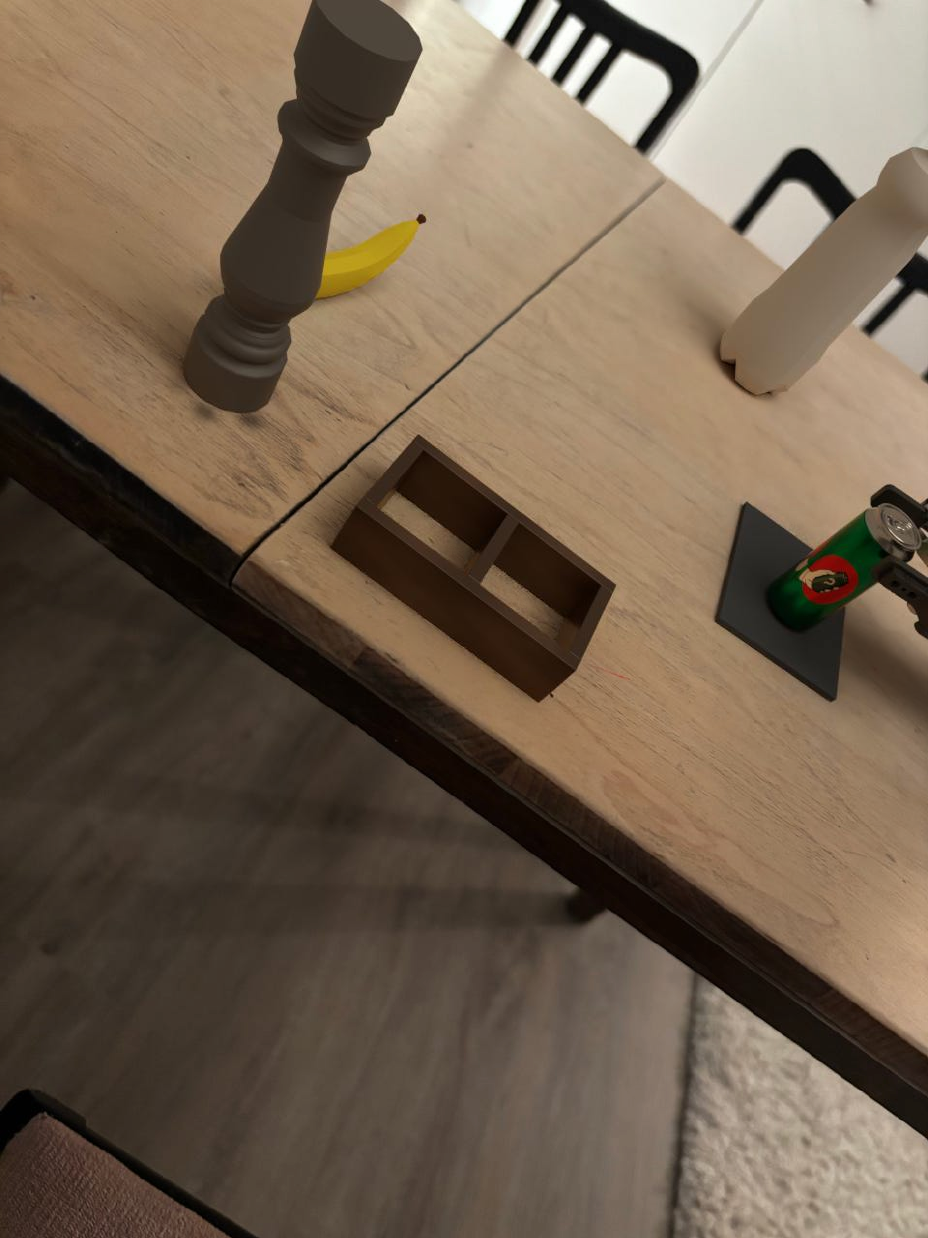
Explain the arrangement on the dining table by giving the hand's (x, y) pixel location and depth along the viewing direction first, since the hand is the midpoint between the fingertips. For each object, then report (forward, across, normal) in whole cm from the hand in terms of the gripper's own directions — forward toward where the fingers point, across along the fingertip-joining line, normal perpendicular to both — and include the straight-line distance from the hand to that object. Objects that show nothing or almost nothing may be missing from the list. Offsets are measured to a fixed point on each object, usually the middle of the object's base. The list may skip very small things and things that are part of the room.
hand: (878, 527), depth 72 cm
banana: (+46, -1, +12) cm, 47 cm away
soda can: (-1, 0, +11) cm, 11 cm away
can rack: (+26, +17, +11) cm, 33 cm away
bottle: (+6, -32, +12) cm, 34 cm away
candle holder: (+46, +11, +12) cm, 49 cm away
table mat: (-1, -2, +12) cm, 12 cm away
